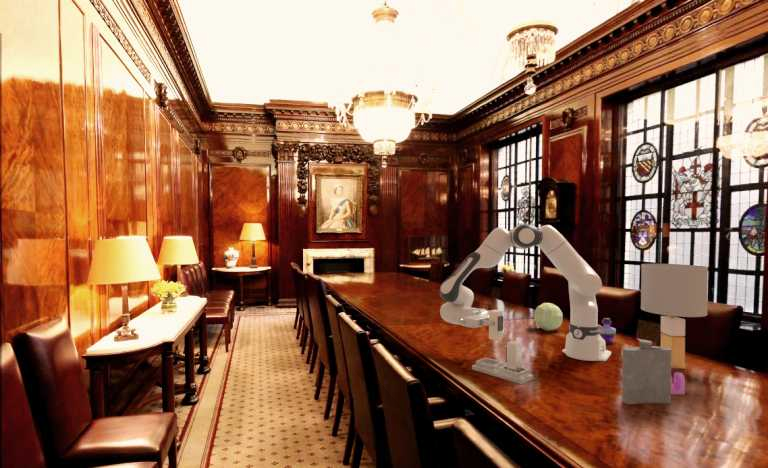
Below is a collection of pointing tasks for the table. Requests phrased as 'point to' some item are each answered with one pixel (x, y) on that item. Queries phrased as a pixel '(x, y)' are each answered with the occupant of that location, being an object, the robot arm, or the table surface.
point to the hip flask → (646, 374)
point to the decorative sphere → (548, 316)
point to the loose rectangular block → (496, 324)
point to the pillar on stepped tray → (509, 371)
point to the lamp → (674, 301)
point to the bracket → (678, 384)
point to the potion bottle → (607, 331)
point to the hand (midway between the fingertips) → (497, 322)
